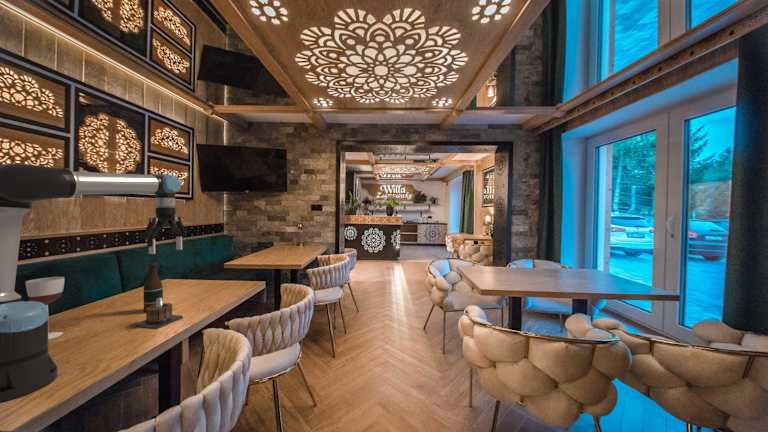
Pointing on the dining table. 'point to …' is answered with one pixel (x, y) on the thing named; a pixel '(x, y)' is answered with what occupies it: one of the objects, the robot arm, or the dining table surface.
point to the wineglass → (46, 293)
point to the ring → (159, 312)
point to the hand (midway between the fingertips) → (166, 251)
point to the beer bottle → (152, 287)
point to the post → (158, 323)
